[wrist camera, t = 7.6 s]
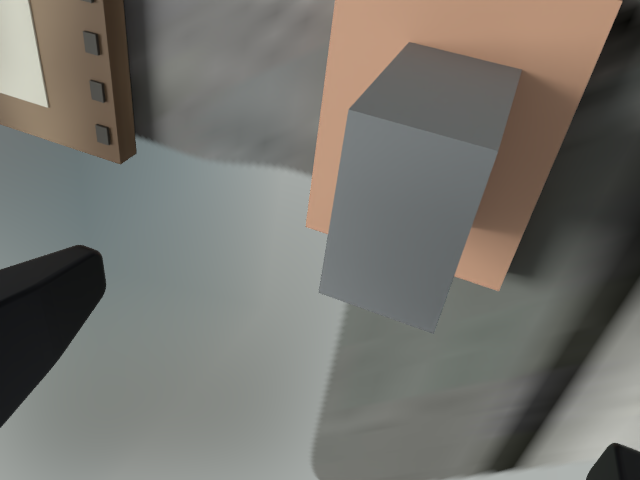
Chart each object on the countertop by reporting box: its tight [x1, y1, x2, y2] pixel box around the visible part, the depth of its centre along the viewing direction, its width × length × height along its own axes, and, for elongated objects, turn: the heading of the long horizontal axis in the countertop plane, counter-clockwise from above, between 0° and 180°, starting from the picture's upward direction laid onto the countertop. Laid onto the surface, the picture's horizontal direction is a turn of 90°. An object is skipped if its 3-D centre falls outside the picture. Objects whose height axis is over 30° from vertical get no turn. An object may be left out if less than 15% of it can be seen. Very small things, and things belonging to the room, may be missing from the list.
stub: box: [306, 0, 622, 334], centre depth 15 cm, size 7×9×6 cm
